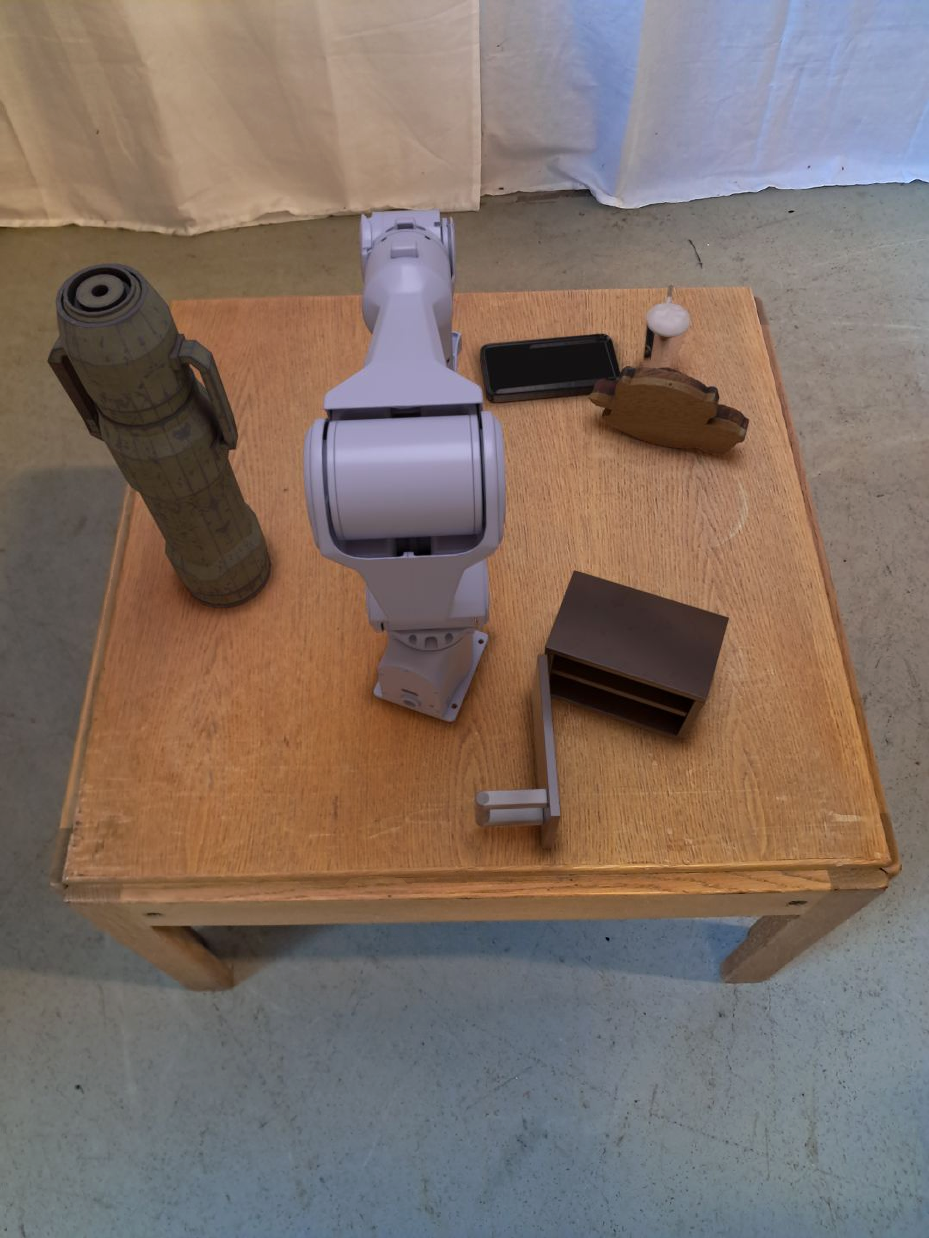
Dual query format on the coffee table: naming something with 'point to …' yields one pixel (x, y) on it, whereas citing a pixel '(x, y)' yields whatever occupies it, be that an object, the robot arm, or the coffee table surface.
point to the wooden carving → (669, 410)
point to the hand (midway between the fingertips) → (425, 459)
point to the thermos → (161, 426)
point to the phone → (547, 367)
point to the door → (544, 800)
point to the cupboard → (633, 655)
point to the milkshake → (664, 333)
